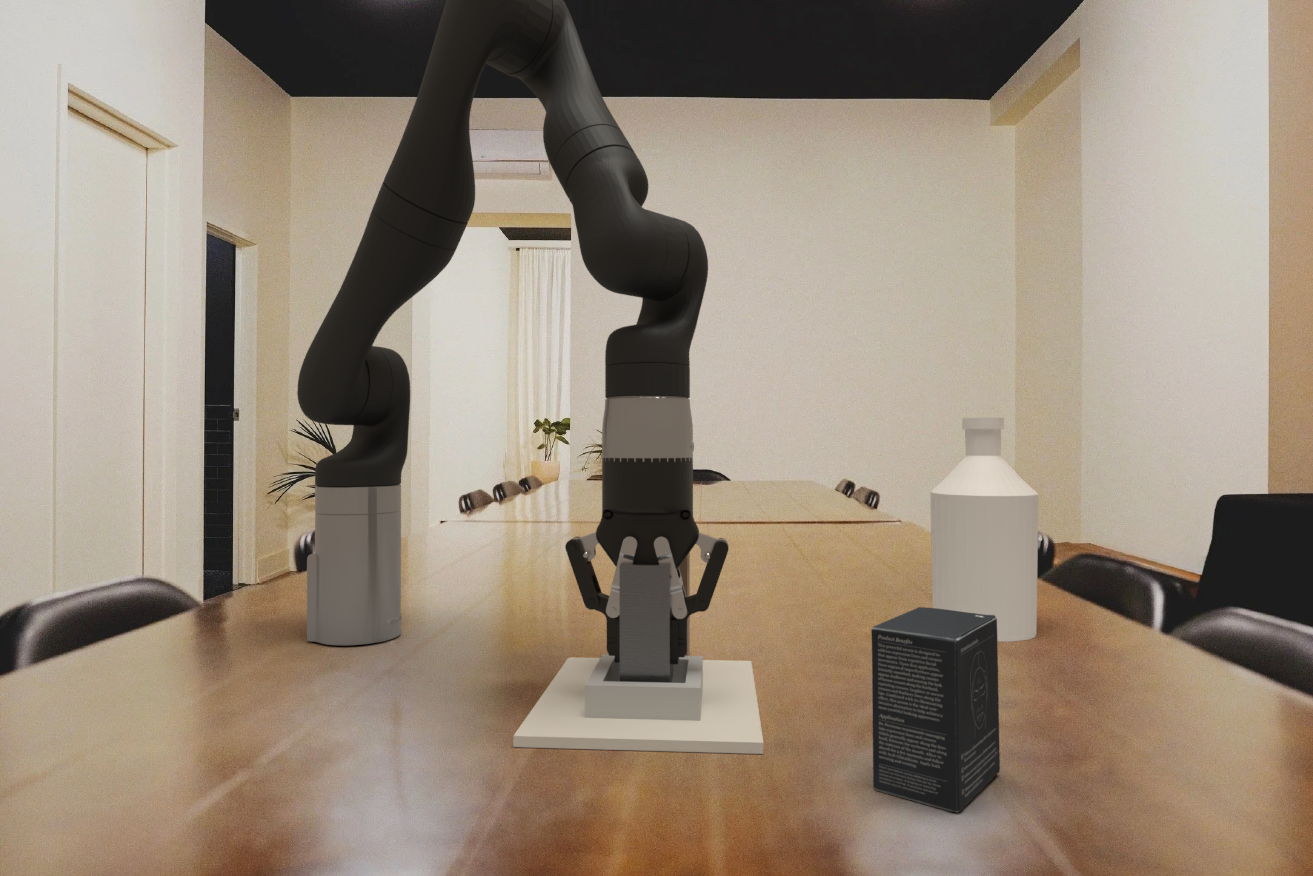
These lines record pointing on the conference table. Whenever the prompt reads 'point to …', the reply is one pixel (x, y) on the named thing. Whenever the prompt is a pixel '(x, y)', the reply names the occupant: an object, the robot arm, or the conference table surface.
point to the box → (935, 706)
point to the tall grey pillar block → (645, 623)
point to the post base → (648, 706)
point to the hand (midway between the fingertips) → (647, 660)
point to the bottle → (986, 536)
